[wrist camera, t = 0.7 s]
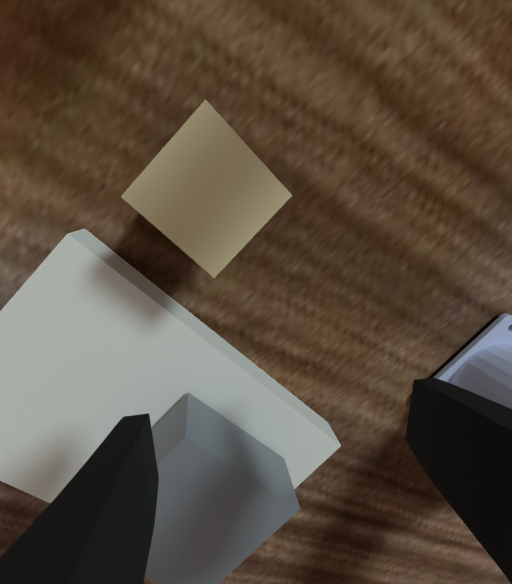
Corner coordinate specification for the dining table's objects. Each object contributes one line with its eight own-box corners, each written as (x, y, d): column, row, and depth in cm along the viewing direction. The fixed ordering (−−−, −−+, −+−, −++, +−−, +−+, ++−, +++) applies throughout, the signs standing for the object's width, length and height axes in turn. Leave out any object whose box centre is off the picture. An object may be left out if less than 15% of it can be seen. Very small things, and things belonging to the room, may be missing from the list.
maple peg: (258, 195, 15) (292, 195, 10) (209, 248, 16) (214, 278, 10) (203, 137, 14) (205, 99, 9) (151, 196, 15) (120, 196, 9)
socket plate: (327, 422, 20) (341, 445, 18) (203, 540, 21) (203, 573, 20) (84, 228, 14) (67, 233, 13) (-68, 404, 16) (-105, 432, 14)
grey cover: (284, 458, 18) (300, 508, 15) (200, 537, 18) (200, 600, 15) (188, 392, 15) (185, 436, 12) (96, 485, 16) (74, 547, 13)
